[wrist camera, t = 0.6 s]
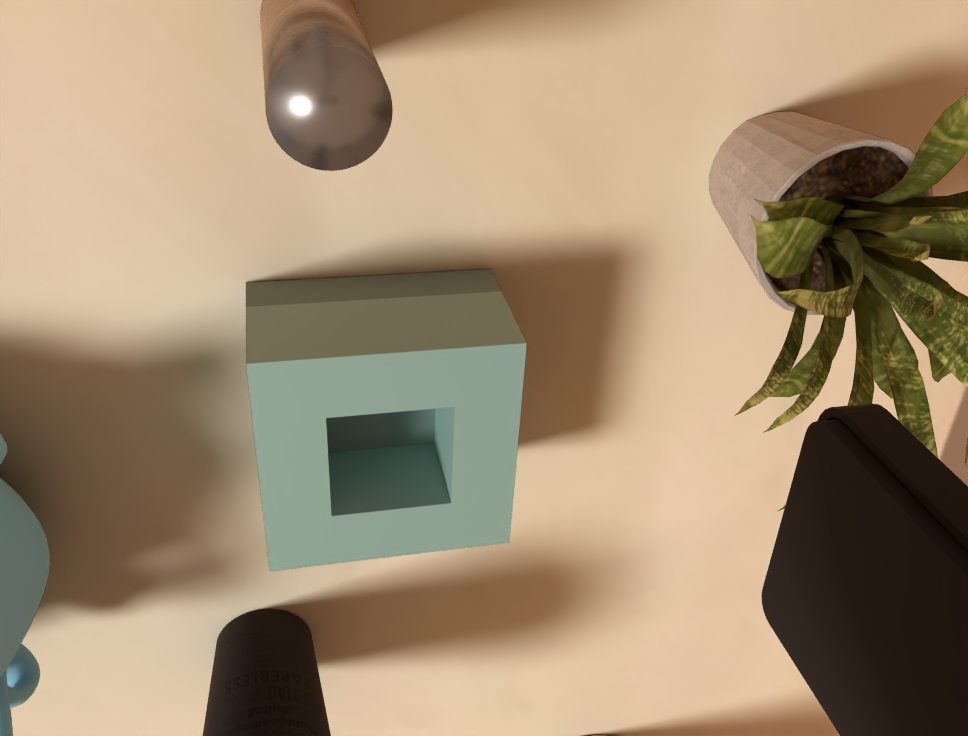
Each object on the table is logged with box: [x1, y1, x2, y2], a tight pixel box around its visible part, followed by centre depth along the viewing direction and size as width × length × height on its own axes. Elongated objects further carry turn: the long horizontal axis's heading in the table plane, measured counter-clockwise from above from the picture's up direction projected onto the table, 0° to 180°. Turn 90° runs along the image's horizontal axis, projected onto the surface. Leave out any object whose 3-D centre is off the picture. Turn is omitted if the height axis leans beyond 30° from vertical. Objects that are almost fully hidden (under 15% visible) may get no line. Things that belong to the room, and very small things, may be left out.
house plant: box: [709, 89, 968, 511], centre depth 32 cm, size 14×14×16 cm
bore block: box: [246, 269, 527, 571], centre depth 38 cm, size 10×10×6 cm
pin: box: [260, 0, 392, 171], centre depth 27 cm, size 3×3×10 cm
